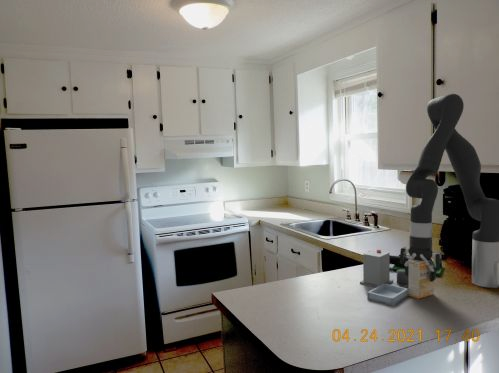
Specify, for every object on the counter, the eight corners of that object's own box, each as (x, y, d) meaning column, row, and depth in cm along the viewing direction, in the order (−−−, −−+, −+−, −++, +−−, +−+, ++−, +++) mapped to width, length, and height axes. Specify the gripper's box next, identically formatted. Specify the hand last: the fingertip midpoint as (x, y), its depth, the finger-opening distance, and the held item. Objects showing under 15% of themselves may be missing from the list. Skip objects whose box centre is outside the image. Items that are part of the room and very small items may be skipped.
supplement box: (419, 299, 140) (419, 263, 139) (407, 295, 145) (407, 260, 144) (434, 295, 144) (435, 259, 143) (423, 291, 148) (423, 256, 147)
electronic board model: (443, 252, 176) (439, 260, 163) (443, 267, 176) (439, 277, 164) (374, 245, 191) (366, 253, 178) (374, 259, 192) (366, 268, 179)
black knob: (410, 283, 157) (410, 270, 157) (405, 286, 154) (405, 273, 154) (400, 280, 161) (400, 268, 160) (394, 283, 158) (394, 271, 157)
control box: (393, 282, 159) (393, 250, 158) (381, 288, 152) (380, 255, 151) (372, 277, 166) (372, 246, 165) (359, 283, 159) (359, 251, 158)
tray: (408, 295, 145) (408, 288, 144) (392, 305, 136) (392, 298, 136) (383, 289, 151) (383, 283, 151) (367, 298, 143) (367, 292, 142)
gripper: (396, 233, 145) (396, 276, 147) (437, 238, 135) (436, 285, 136) (406, 230, 150) (405, 272, 152) (445, 235, 140) (444, 280, 142)
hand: (420, 278), depth 144 cm, fingers open, 8 cm apart
